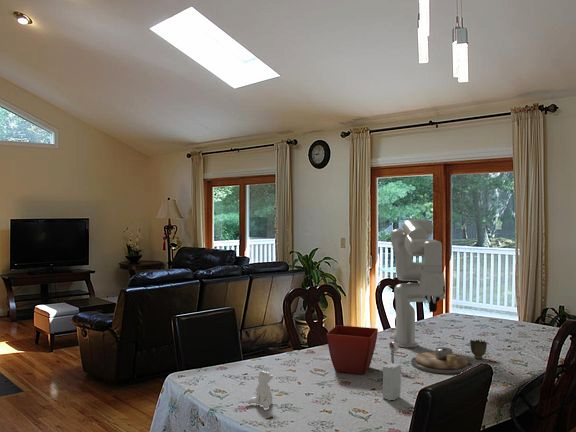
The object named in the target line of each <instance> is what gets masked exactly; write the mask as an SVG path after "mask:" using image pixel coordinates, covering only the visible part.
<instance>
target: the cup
mask: <svg viewBox="0 0 576 432" xmlns="http://www.w3.org/2000/svg"><path fill="white" fill-rule="evenodd" d="M469 343H470V350H471V353H472V354H473V357H474V359H477V360H481V359H483V358H484V357H483V356H484V355H485V354H486V352H487V348H488V347H487V345H488V344H487V343H488V342H487V341H486V340H480V339H470V340H469Z"/></svg>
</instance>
